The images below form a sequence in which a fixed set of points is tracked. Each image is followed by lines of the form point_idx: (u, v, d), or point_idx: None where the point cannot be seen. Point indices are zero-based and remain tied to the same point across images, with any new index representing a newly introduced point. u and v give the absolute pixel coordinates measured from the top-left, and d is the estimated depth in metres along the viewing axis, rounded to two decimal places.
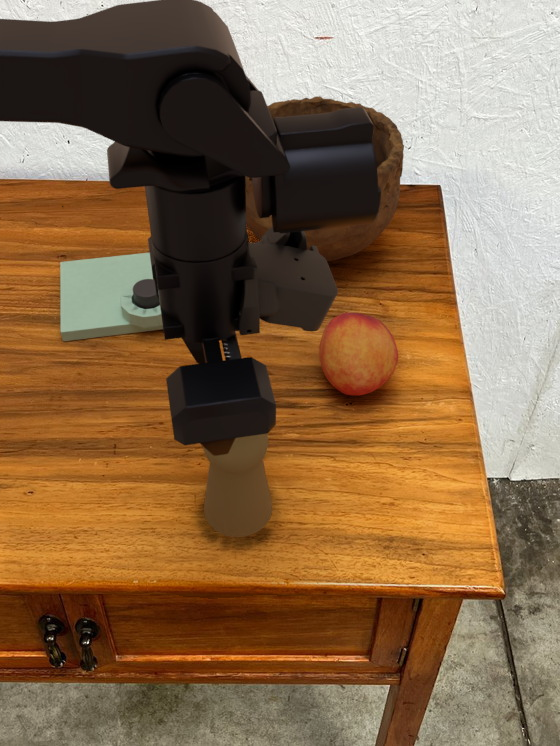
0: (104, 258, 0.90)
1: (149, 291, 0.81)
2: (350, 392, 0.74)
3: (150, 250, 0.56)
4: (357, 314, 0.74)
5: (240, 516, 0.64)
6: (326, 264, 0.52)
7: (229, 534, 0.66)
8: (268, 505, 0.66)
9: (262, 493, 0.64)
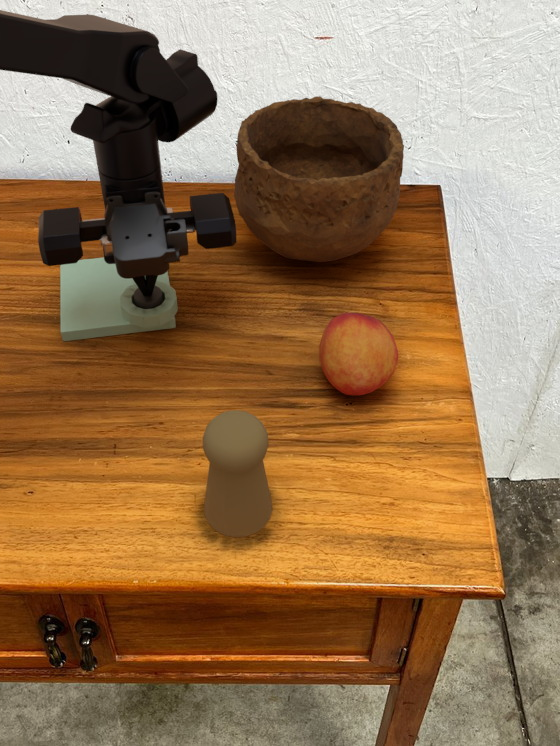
0: None
1: (150, 296, 0.82)
2: (350, 392, 0.74)
3: None
4: (357, 314, 0.74)
5: (240, 516, 0.64)
6: (153, 256, 0.69)
7: (229, 534, 0.66)
8: (268, 505, 0.66)
9: (262, 493, 0.64)
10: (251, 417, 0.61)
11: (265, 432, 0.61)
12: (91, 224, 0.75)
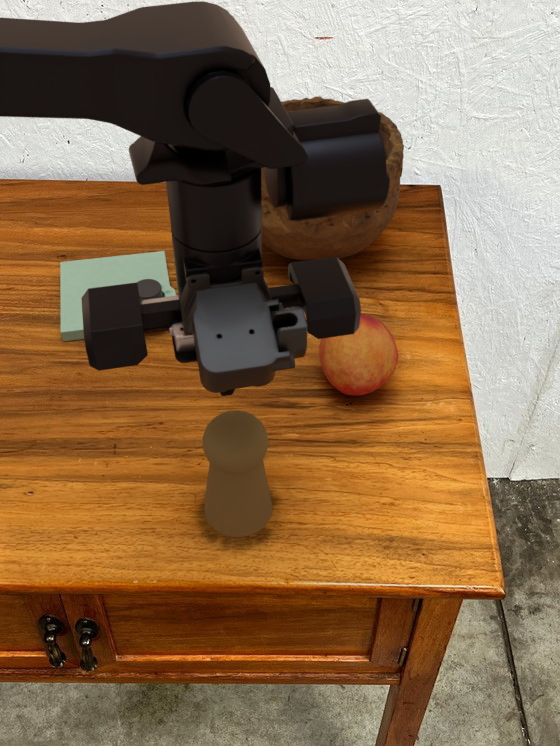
0: (104, 258, 0.90)
1: (149, 291, 0.81)
2: (350, 392, 0.74)
3: None
4: None
5: (240, 516, 0.64)
6: (259, 364, 0.46)
7: (229, 534, 0.66)
8: (268, 505, 0.66)
9: (262, 493, 0.64)
10: (251, 417, 0.61)
11: (265, 432, 0.61)
12: (157, 308, 0.52)
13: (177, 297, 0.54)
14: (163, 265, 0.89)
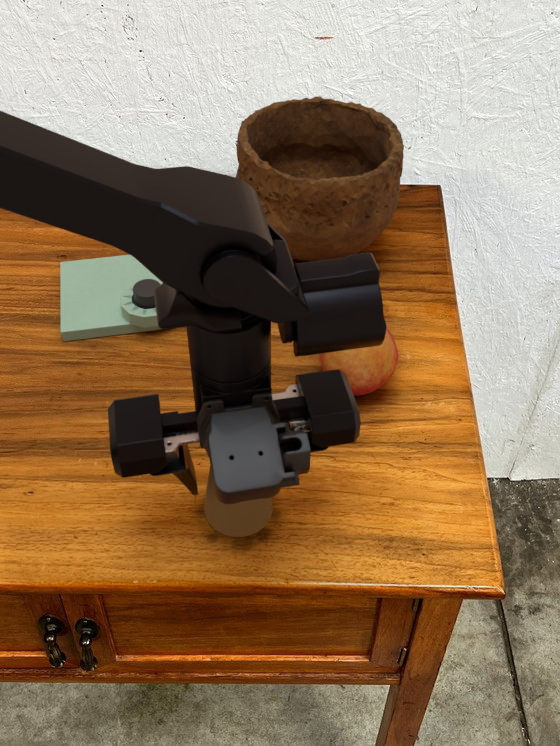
0: (104, 258, 0.90)
1: (149, 291, 0.81)
2: None
3: None
4: None
5: (240, 515, 0.64)
6: (267, 484, 0.52)
7: (229, 534, 0.66)
8: (268, 505, 0.66)
9: None
10: None
11: None
12: (176, 420, 0.58)
13: None
14: None
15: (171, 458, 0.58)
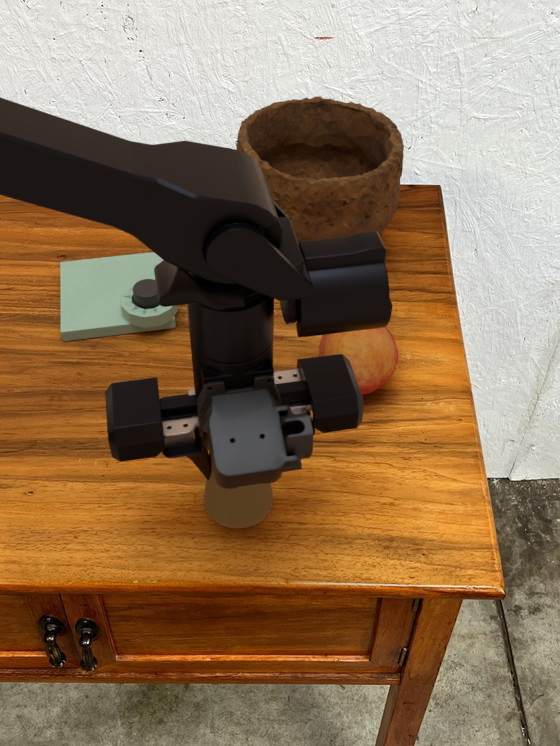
0: (104, 258, 0.90)
1: (149, 291, 0.81)
2: None
3: (320, 356, 0.61)
4: None
5: (240, 506, 0.63)
6: (269, 468, 0.51)
7: (229, 525, 0.65)
8: (269, 495, 0.65)
9: (263, 483, 0.63)
10: None
11: None
12: (175, 403, 0.57)
13: None
14: None
15: (187, 440, 0.57)
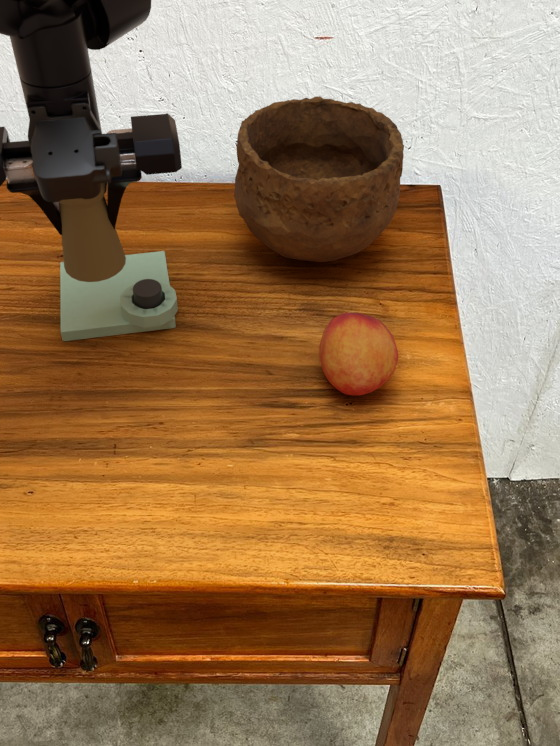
0: None
1: (149, 291, 0.81)
2: (350, 392, 0.74)
3: None
4: (357, 314, 0.74)
5: (88, 257, 0.73)
6: (79, 174, 0.60)
7: (83, 279, 0.75)
8: (118, 255, 0.75)
9: (108, 237, 0.73)
10: None
11: None
12: (17, 145, 0.66)
13: None
14: (163, 265, 0.89)
15: (28, 177, 0.67)
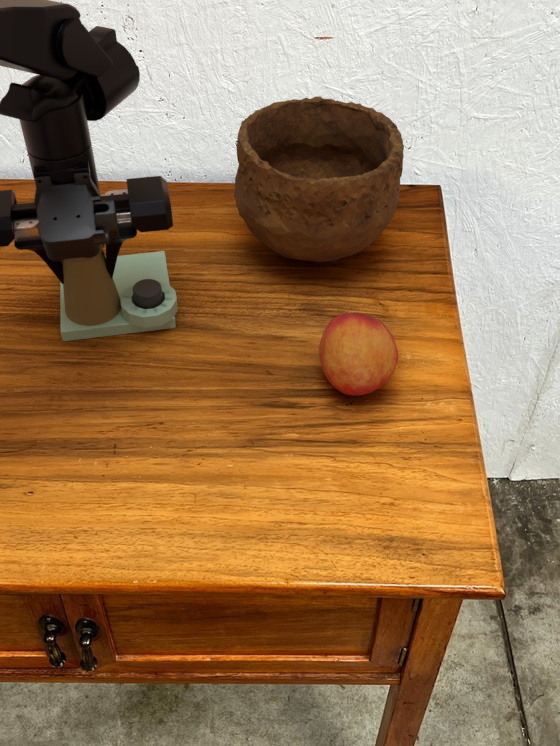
0: None
1: (149, 291, 0.81)
2: (350, 392, 0.74)
3: None
4: (357, 314, 0.74)
5: (88, 304, 0.80)
6: (81, 237, 0.68)
7: (82, 323, 0.82)
8: (115, 301, 0.82)
9: (106, 286, 0.80)
10: None
11: None
12: (24, 207, 0.74)
13: None
14: (163, 265, 0.89)
15: (33, 235, 0.74)
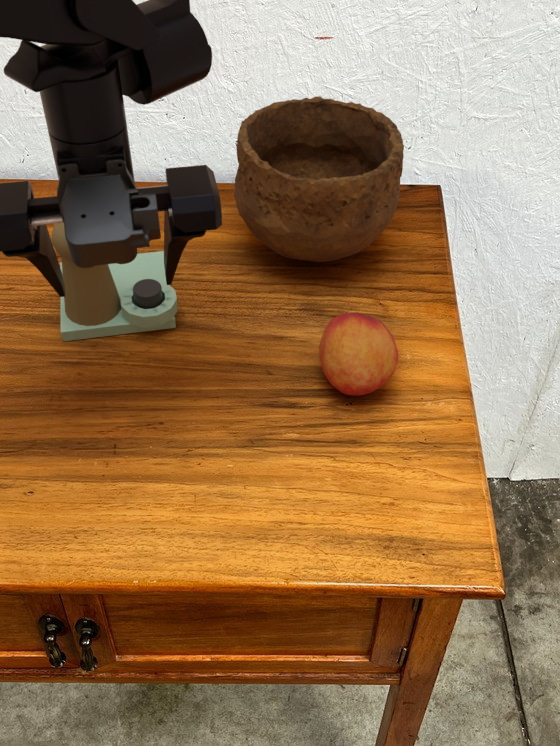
0: None
1: (149, 291, 0.81)
2: (350, 392, 0.74)
3: None
4: (357, 314, 0.74)
5: (88, 304, 0.80)
6: (115, 239, 0.55)
7: (82, 323, 0.82)
8: (115, 301, 0.82)
9: (106, 286, 0.80)
10: None
11: None
12: (43, 202, 0.61)
13: None
14: (163, 265, 0.89)
15: None
